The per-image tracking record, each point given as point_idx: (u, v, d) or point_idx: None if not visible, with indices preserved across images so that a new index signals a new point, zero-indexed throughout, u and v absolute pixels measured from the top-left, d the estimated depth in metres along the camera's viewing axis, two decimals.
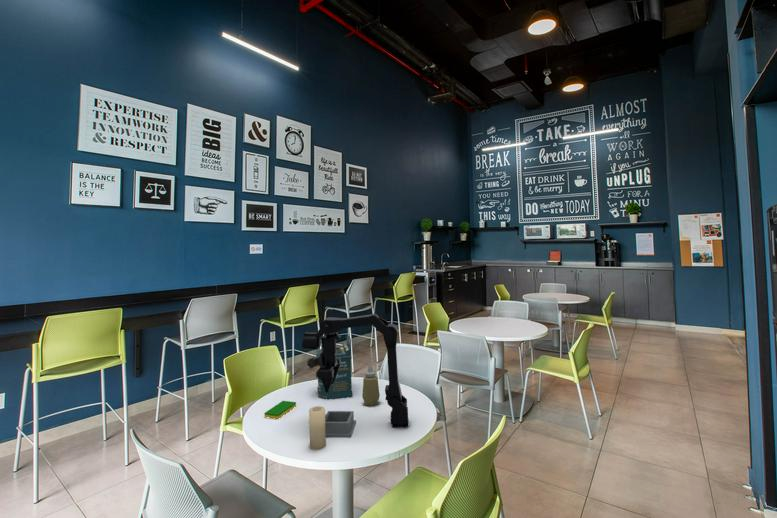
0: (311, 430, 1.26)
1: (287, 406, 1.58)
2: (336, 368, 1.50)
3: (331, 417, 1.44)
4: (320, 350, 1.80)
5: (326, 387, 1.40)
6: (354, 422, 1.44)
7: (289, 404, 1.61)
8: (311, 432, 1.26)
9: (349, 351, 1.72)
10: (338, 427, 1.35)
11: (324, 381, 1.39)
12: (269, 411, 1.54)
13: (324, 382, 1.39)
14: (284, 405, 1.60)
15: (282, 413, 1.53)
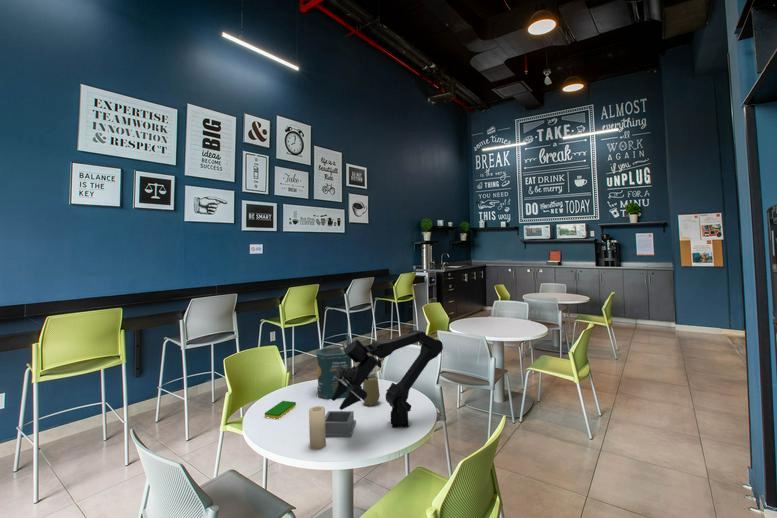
0: (311, 430, 1.26)
1: (287, 406, 1.59)
2: (346, 388, 1.39)
3: (331, 417, 1.44)
4: (320, 350, 1.80)
5: (343, 404, 1.27)
6: (354, 422, 1.44)
7: (289, 404, 1.61)
8: (311, 432, 1.26)
9: None
10: (338, 427, 1.35)
11: (348, 398, 1.27)
12: (269, 411, 1.54)
13: (348, 399, 1.27)
14: (283, 405, 1.60)
15: (282, 413, 1.53)
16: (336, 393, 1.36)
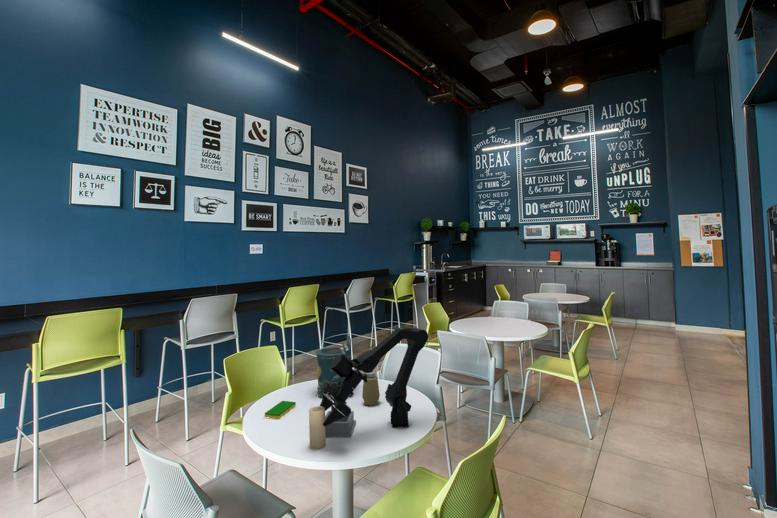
0: (311, 430, 1.26)
1: (287, 406, 1.59)
2: (331, 403, 1.36)
3: None
4: (320, 350, 1.80)
5: (327, 421, 1.25)
6: (354, 422, 1.44)
7: (289, 404, 1.61)
8: (311, 432, 1.26)
9: (349, 351, 1.72)
10: (338, 427, 1.35)
11: (332, 414, 1.25)
12: (269, 411, 1.54)
13: (331, 415, 1.25)
14: (283, 405, 1.60)
15: (282, 413, 1.53)
16: None
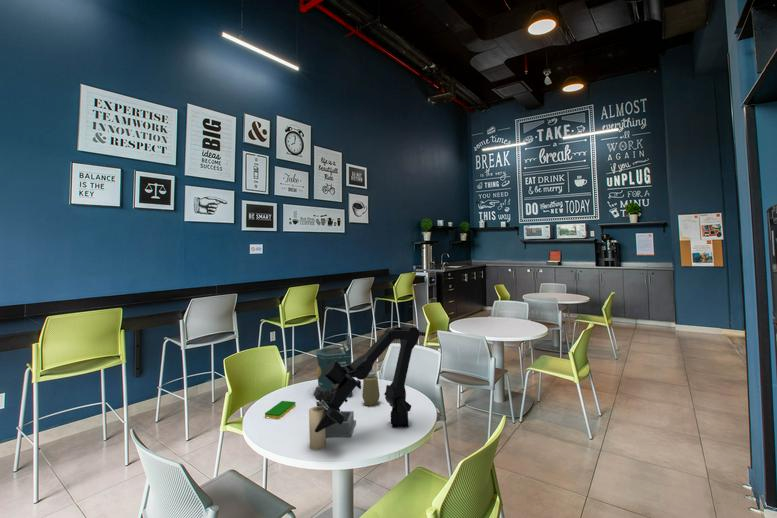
0: (311, 430, 1.26)
1: (287, 406, 1.59)
2: (326, 412, 1.33)
3: None
4: (320, 350, 1.80)
5: (319, 427, 1.25)
6: (354, 422, 1.44)
7: (289, 404, 1.61)
8: (311, 432, 1.26)
9: (349, 351, 1.72)
10: (338, 427, 1.35)
11: (324, 420, 1.25)
12: (269, 411, 1.53)
13: (323, 421, 1.25)
14: (283, 405, 1.60)
15: (283, 413, 1.53)
16: None
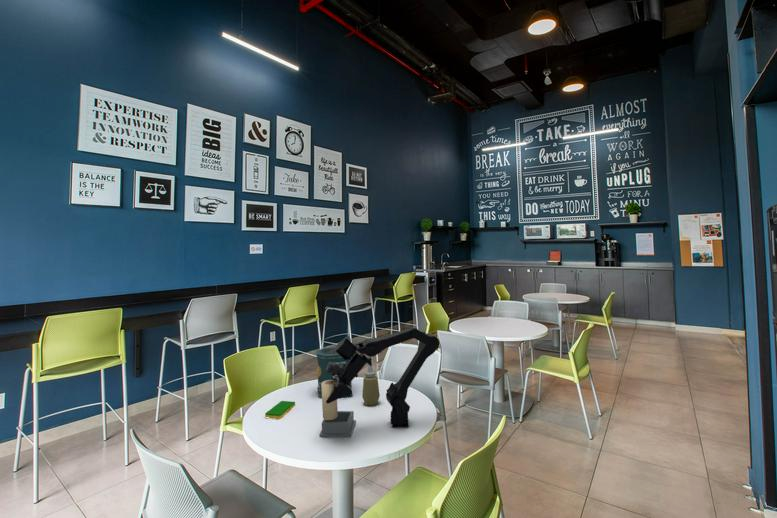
0: (323, 401, 1.34)
1: (287, 406, 1.59)
2: None
3: None
4: (320, 350, 1.80)
5: (330, 398, 1.32)
6: (354, 422, 1.44)
7: (289, 404, 1.61)
8: (323, 403, 1.34)
9: None
10: (338, 427, 1.35)
11: (334, 393, 1.32)
12: (270, 411, 1.53)
13: (333, 393, 1.32)
14: (283, 405, 1.60)
15: (283, 413, 1.53)
16: None
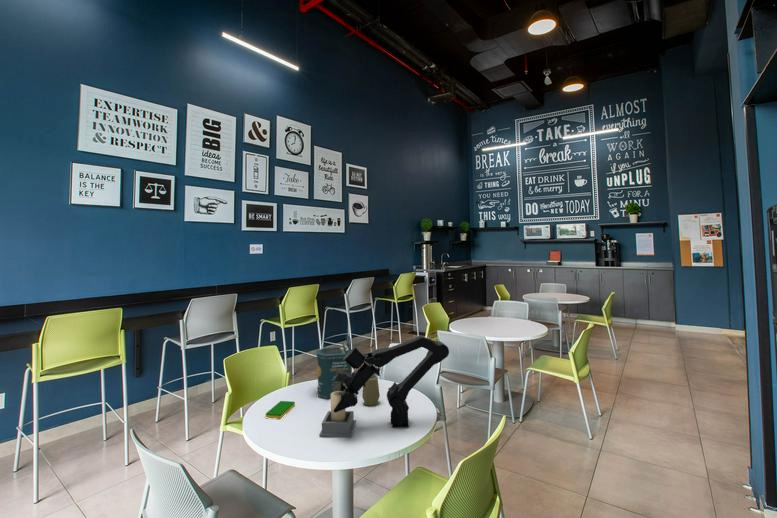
0: (331, 412, 1.38)
1: (287, 406, 1.59)
2: None
3: None
4: (320, 350, 1.80)
5: (337, 408, 1.35)
6: (354, 422, 1.44)
7: (288, 404, 1.61)
8: (331, 413, 1.38)
9: None
10: (338, 427, 1.35)
11: (341, 402, 1.34)
12: (270, 411, 1.53)
13: (340, 403, 1.34)
14: (283, 405, 1.60)
15: (284, 413, 1.53)
16: None
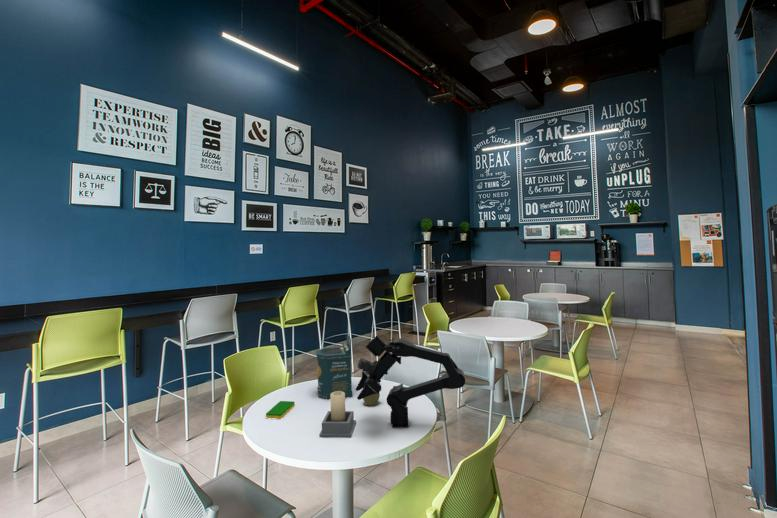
0: (331, 412, 1.38)
1: (287, 406, 1.59)
2: None
3: None
4: (320, 350, 1.80)
5: (361, 395, 1.37)
6: (354, 422, 1.44)
7: (288, 404, 1.61)
8: (331, 414, 1.38)
9: (349, 351, 1.72)
10: (338, 427, 1.35)
11: (365, 390, 1.37)
12: (270, 411, 1.53)
13: (364, 390, 1.37)
14: (283, 405, 1.60)
15: (284, 413, 1.53)
16: (360, 384, 1.47)
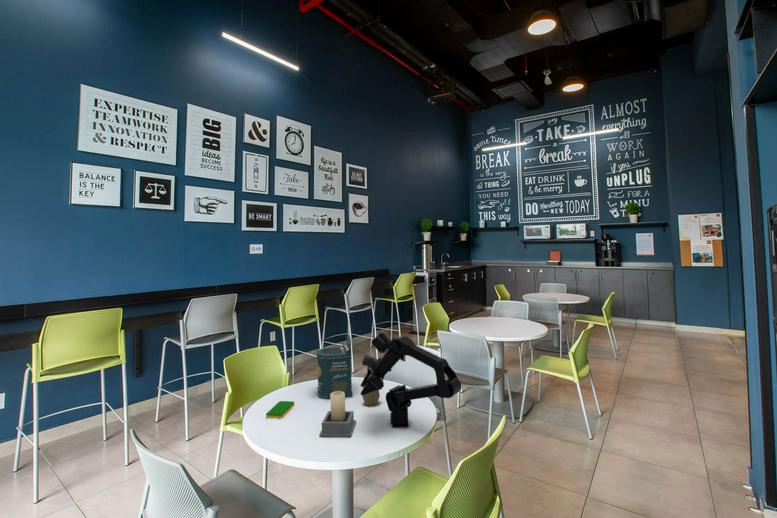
0: (331, 412, 1.38)
1: (287, 406, 1.59)
2: None
3: None
4: (320, 350, 1.80)
5: (364, 391, 1.39)
6: (354, 422, 1.44)
7: (288, 404, 1.61)
8: (331, 414, 1.38)
9: (349, 351, 1.72)
10: (338, 427, 1.35)
11: (368, 386, 1.38)
12: (270, 411, 1.53)
13: (367, 386, 1.38)
14: (283, 405, 1.60)
15: (284, 412, 1.53)
16: (365, 380, 1.49)
